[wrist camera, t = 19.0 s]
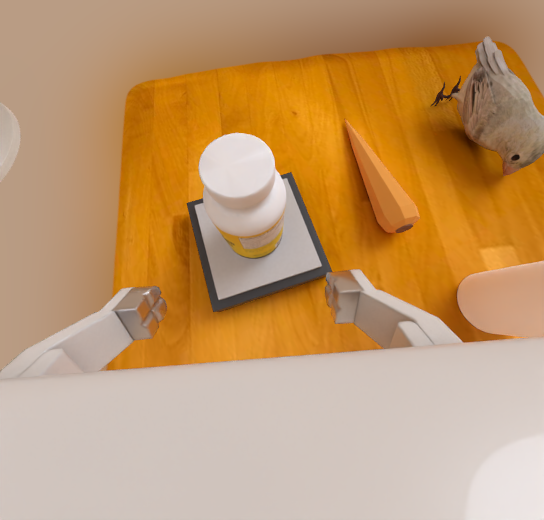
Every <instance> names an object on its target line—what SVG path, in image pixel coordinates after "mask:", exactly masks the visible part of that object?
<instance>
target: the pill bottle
mask: <svg viewBox="0 0 544 520" xmlns="http://www.w3.org/2000/svg"><path fill="white" fill-rule="evenodd" d="M199 174H200V178H201V180H202V182H203V184H204V186H205V187H204V191H203V202H204V207H205V210H206V212H207V214H208V216H209V218H210V219H211V221H212V222H213V224H214V225H215V226H216V228H217V229H218V231H219V232H220V233H221V235H222V236H223V238H224V239H225V240H226V242H227V243H228V244H229V246H230V247H231V248H232V250H233V251H234V252H235V253H237V254H238V255H240V256H242V257H244V258H248V259H259V258H263V257H266V256H268V255H270V254H271V253H272V252H273V251H275V249H276V248H277V247H278V245H279V244H280V242H281V239H282V234H283V224H284V215H285V208H286V189H285V185H284V182H283V180H282V178H281V176H280V175H279V173H278V172H277V171H276V170H275V161H274V156H273V154H272V152H271V150H270V148H269V147H268V146H267V144H266V143H265V142H263V141H262V140H261V139H259V138H257V137H255V136H252V135H248V134H243V133H233V134H228V135H224V136H222V137H219V138H217V139H216V140H214V141H213V142H212V143H210V144H209V145H208V146H207V147H206V149H205V150H204V152H203V153H202V155H201V158H200V161H199Z"/></svg>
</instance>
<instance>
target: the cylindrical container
mask: <svg viewBox="0 0 544 520" xmlns="http://www.w3.org/2000/svg"><path fill="white" fill-rule="evenodd" d="M457 301H458V305H459V308H460V310H461V312H462V314H463V315H464V317H465V318H466V319H467V320H468V321H469V322H470V323H471V324H472V325H473V326H475V327H476V328H477V329H479V330H482V331H484V332H487V333H491V334H500V335H509V336H519V337H528V338H530V337H542V336H544V261H540V262H534V263H529V264H524V265H518V266H513V267H507V268H502V269H497V270H491V271H486V272H481V273H475V274H472V275H469V276H467V277H466V278H465V279H464V280H463V281H462V282H461V283H460V285H459V287H458V291H457Z"/></svg>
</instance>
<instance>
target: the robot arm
mask: <svg viewBox="0 0 544 520" xmlns="http://www.w3.org/2000/svg"><path fill="white" fill-rule="evenodd" d="M326 281H327V283H328V284H327V286H326V287H325V298H326V302H327V305H328V306H329V307H330V308H331V315H332V317H333V320H334V322H335V324H340V323H354V324H355V325H356V326H357V327H359V328H360V329H361V330H362V331H363V332H365V333H366V334H367V335H368V336H369V337H371V338H372V339H373V340H374V341H375V342H377V343H378V344H379V345H380V346H381V347H383V348H384V349H377V350H364V351H352V352H339V353H327V354H314V355H301V356H288V357H275V358H263V359H250V360H237V361H224V362H212V363H199V364H186V365H174V366H161V367H148V368H136V369H123V370H110V371H100V370H101V369H102V368H103V367H105V366H106V365H107V364H108V363H109V362H110V361H111V360H113V359H114V358H115V357H116V356H117V355H118V354H120V353H121V352H122V351H123V350H124V349H125V348H126V347H128V346H129V345H130V344H131V343H132V342H133V340H141V339H150V338H153V336H154V335H155V333H156V331H157V329H158V328H159V324H158V323H159V322H160V321H161V320H163V319H164V317H165V315H166V311H167V305H166V302H165V300H164V299H163V298H161V297H160V295H161V291H160V289H159V287H157V286H147V287H131V288H123V289H121V290H120V291H119V292H118V293H117V294H116V295H115V296H114V297H113V298H112V299H111V300H110V301H109V302H108V303H107V304H106V305H105V306H104V307H103V308H102V309H101V310H100V311H99V312H96V313H93V314H91V315H89V316H87V317H86V318H84V319H82V320H80V321H78V322H76V323H74V324H72V325H71V326H69V327H67V328H65V329H63V330H61V331H59V332H57V333H56V334H54V335H52V336H50V337H48V338H46V339H44V340H42V341H41V342H39V343H37V344H35V345H33V346H31V347H29V348H27V349H26V350H24V351H23V352H21V353H20V354H19V355H18V356H17V357H15V358H14V359H13V360H12V361H11V362H10V363H9V364H7V365H6V366H5V367H4V368H3V369H2V370H0V520H544V336H542V337H530V338H517V339H504V340H491V341H479V342H466V343H463V342H462V341H461V340H460V339H459V338H458V337H457V336H456V335H455V334H454V333H453V332H452V331H451V330H450V329H449V328H448V327H447V326H446V325H445V324H444V323H443V322H442V321H441V320H440V319H439V318H438V317H436V316H434V315H432V314H429V313H427V312H425V311H423V310H421V309H419V308H417V307H415V306H413V305H411V304H408V303H406V302H404V301H402V300H400V299H398V298H396V297H394V296H392V295H390V294H387V293H385V292H383V291H381V290H376V289H375V288H374V287H373V285H372V284H371V283H370V281H369V280H368V279H367V278H366V276H365V275H364V274H363V272H362V271H361V270H359V269H355V270H348V271H338V272H327V274H326Z"/></svg>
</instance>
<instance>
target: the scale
mask: <svg viewBox="0 0 544 520" xmlns="http://www.w3.org/2000/svg"><path fill="white" fill-rule="evenodd" d="M280 176H281V178H282V180H283V182H284V185H285V189H286V208H285V215H284V224H283V234H282V239H281V242H280V244H279V245H278V247H277V248H276V249H275V251H273V252H272V253H271V254H270V255H268V256H266V257H263V258H259V259H248V258H244V257H242V256H240V255H238V254H237V253H235V252H234V251H233V250H232V248H231V247H230V246H229V244H228V243H227V242H226V240H225V239H224V238H223V236H222V235H221V233H220V232H219V231H218V229H217V228H216V226H215V225H214V224H213V222H212V221H211V219H210V218H209V216H208V214H207V212H206V210H205V207H204V202H203V199H199V200H196V201H192V202H189V203H187V206H188V211H189V215H190V219H191V223H192V227H193V231H194V235H195V239H196V243H197V247H198V251H199V255H200V260H201V264H202V268H203V272H204V276H205V280H206V284H207V288H208V292H209V296H210V300H211V304H212V308H213V312H221V311H224V310H227V309H230V308H233V307H236V306H239V305H242V304H245V303H248V302H251V301H254V300H257V299H260V298H263V297H266V296H269V295H272V294H275V293H278V292H281V291H284V290H287V289H290V288H293V287H296V286H299V285H302V284H305V283H308V282H311V281H314V280H317V279H320V278H323V277H326V274H327V272H332V270H331V268H330V265H329V263H328V260H327V258H326V255H325V253H324V251H323V248H322V246H321V243H320V241H319V238H318V236H317V234H316V231H315V229H314V226H313V224H312V221H311V219H310V217H309V214H308V212H307V209H306V207H305V204H304V202H303V200H302V197H301V195H300V192H299V190H298V187H297V185H296V183H295V180H294V178H293V175H292V173H291V172H290V173H287V174H284V175H280Z"/></svg>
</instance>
